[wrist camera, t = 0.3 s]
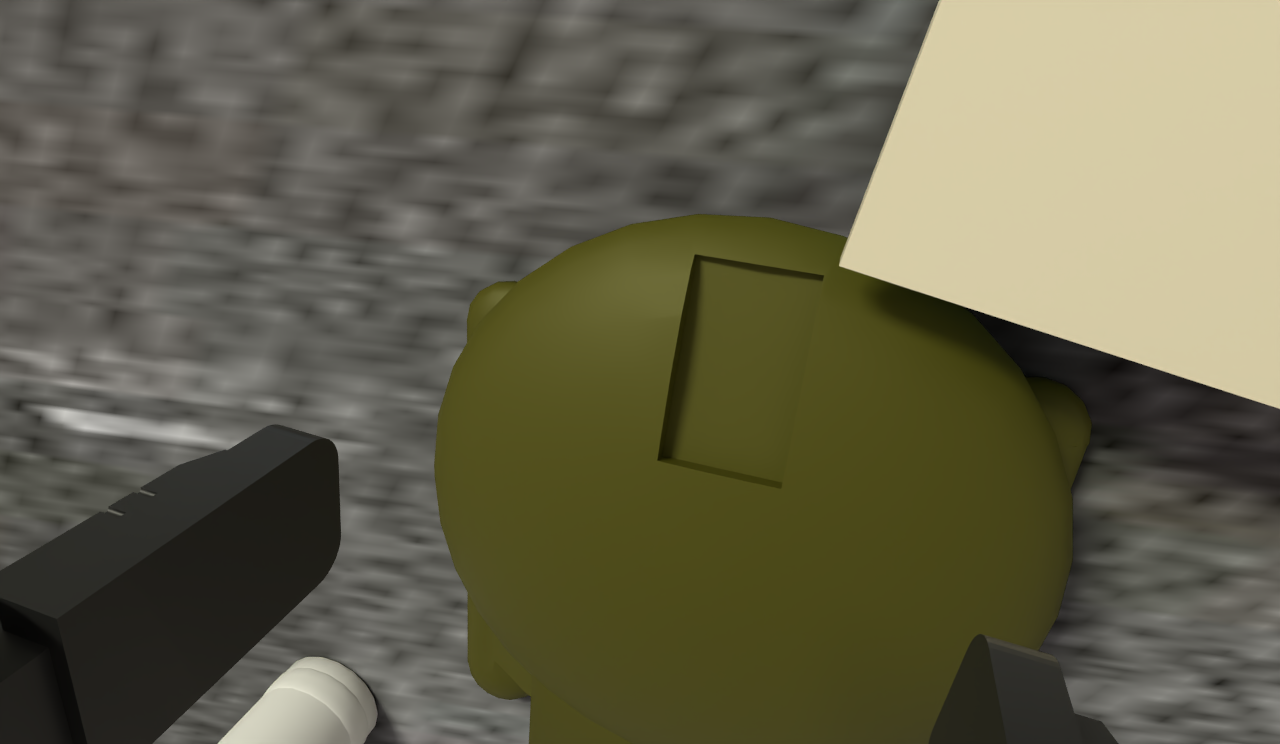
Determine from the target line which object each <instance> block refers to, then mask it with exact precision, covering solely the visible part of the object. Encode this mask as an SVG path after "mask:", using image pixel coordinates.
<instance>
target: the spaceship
mask: <svg viewBox="0 0 1280 744" xmlns="http://www.w3.org/2000/svg"><path fill="white" fill-rule="evenodd" d="M847 239H848V238H846V237H844V236H841V235H837V234H833V233H829V232H825V231H821V230H817V229H813V228H809V227H805V226H801V225H797V224H793V223H789V222H785V221H781V220H777V219H773V218H766V217H746V216H726V215H707V214H696V215H689V216H682V217H676V218H669V219H663V220H656V221H649V222H643V223H636V224H630V225H628V226H625V227H623V228H620V229H617V230H615V231H612V232H609V233H607V234H604V235H601V236H599V237H596V238H593V239H591V240H588V241H585V242H583V243H580V244H577V245H575V246H572V247H570V248H569V249H567V250H566V251H564V252H563V253H561V254H560V255H558V256H557V257H555V258H553V259H552V260H550V261H549V262H547V263H546V264H544V265H543V266H541V267H540V268H538V269H537V270H535V271H534V272H532V273H531V274H529V275H528V276H526V277H524V278H523V279H521V280H520V281H518V282H516V281H506V282H497V283H495V284H493V285H491V286H489V287H487V288H485V289H483V290H481V291H480V292H479V293H478V294H477V296H476V297H475V299H474V300H473V301H472V303H471V304H470V308H469V313H468V318H467V344H466V346H465V348H464V349H463V351H462V353H461V355H460V356H459V358H458V360H457V361H456V363H455V365H454V366H453V369H452V373H451V376H450V379H449V382H448V385H447V389H446V392H445V395H444V398H443V402H442V405H441V408H440V411H439V414H438V425H437V438H436V450H435V462H434V468H435V482H436V490H437V498H438V506H439V514H440V522H441V526H442V529H443V532H444V535H445V538H446V541H447V544H448V547H449V550H450V554H451V557H452V560H453V563H454V566H455V569H456V571H457V573H458V575H459V577H460V578H461V580H462V582H463V584H464V586H465V588H466V590H467V592H468V663H469V667H470V671H471V674H472V676H473V678H474V679H475V681H476V682H477V684H478V685H479V686H480V687H481V688H483V689H484V690H485V691H486V692H487V693H489V694H491V695H493V696H495V697H498V698H502V699H508V700H512V699H518V698H522V697H527V696H528V695H529V696H531V710H530V732H529V744H928V743H929V739H930V736H931V732H932V730H933V727H934V725H935V723H936V720H937V718H938V716H939V713H940V711H941V709H942V706H943V704H944V702H945V699H946V697H947V695H948V693H949V690H950V688H951V686H952V683H953V681H954V679H955V676H956V674H957V672H958V670H959V667H960V665H961V663H962V660H963V658H964V656H965V653H966V651H967V649H968V647H969V645H970V643H971V641H972V640H973V638H974V637H975V636H977V635H978V634H983V635H986V636H990V637H993V638H996V639H1000V640H1003V641H1006V642H1010V643H1013V644H1017V645H1020V646H1023V647H1027V648H1030V649H1034V650H1037V651H1038V650H1039V649H1040V647H1041V645H1042V643H1043V642H1044V640H1045V638H1046V636H1047V634H1048V633H1049V631H1050V629H1051V627H1052V626H1053V624H1054V622H1055V620H1056V618H1057V617H1058V614H1059V610H1060V606H1061V602H1062V599H1063V595H1064V591H1065V587H1066V583H1067V580H1068V576H1069V572H1070V568H1071V564H1072V561H1073V498H1072V494H1071V487H1072V484H1073V482H1074V479H1075V477H1076V474H1077V471H1078V469H1079V466H1080V463H1081V461H1082V458H1083V456H1084V453H1085V450H1086V448H1087V446H1088V445H1089V442H1090V434H1091V426H1092V423H1091V420H1090V417H1089V415H1088V412H1087V409H1086V407H1085V404H1084V403H1083V401H1082V400H1081V399H1080V398H1079V397H1078V396H1077V395H1076V394H1075V393H1074V392H1073V391H1072V390H1071V389H1069V388H1068V387H1067V386H1066V385H1064V384H1061V383H1058V382H1056V381H1053V380H1050V379H1048V378H1045V377H1025V376H1024V374H1023V372H1022V371H1021V369H1020V368H1019V366H1018V365H1017V364H1016V363H1015V362H1014V361H1013V360H1012V358H1011V357H1010V356H1009V355H1008V354H1007V353H1006V352H1005V350H1004V349H1003V348H1002V347H1001V346H1000V345H999V344H998V342H997V341H996V340H995V339H994V338H993V337H992V336H991V334H990V333H989V332H988V331H987V330H986V329H985V328H984V326H983V325H982V324H981V323H980V322H979V321H978V320H977V318H976V317H975V316H974V315H973V314H972V313H971V312H969V311H968V310H967V309H965V308H964V307H963V306H961V305H958V304H955V303H952V302H948V301H945V300H942V299H939V298H936V297H933V296H930V295H927V294H924V293H921V292H918V291H915V290H911V289H908V288H905V287H902V286H899V285H896V284H893V283H890V282H887V281H884V280H881V279H877V278H874V277H871V276H868V275H865V274H862V273H859V272H856V271H853V270H850V269H847V268H844V267H840V266H839V263H840V257H841V255H842V252H843V250H844V247H845V244H846V242H847Z"/></svg>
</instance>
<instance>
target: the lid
mask: <svg viewBox="0 0 1280 744" xmlns="http://www.w3.org/2000/svg"><path fill="white" fill-rule="evenodd" d="M839 266H840V267H844V268H847V269H850V270H853V271H856V272H859V273H862V274H865V275H868V276H871V277H874V278H877V279H881V280H884V281H887V282H890V283H893V284H896V285H899V286H902V287H905V288H908V289H911V290H915V291H918V292H921V293H924V294H927V295H930V296H933V297H936V298H939V299H942V300H945V301H948V302H952V303H955V304H958V305H961V306H964V307H967V308H970V309H973V310H976V311H979V312H982V313H985V314H989V315H992V316H995V317H998V318H1001V319H1004V320H1007V321H1010V322H1013V323H1016V324H1019V325H1023V326H1026V327H1029V328H1032V329H1035V330H1038V331H1041V332H1044V333H1047V334H1050V335H1053V336H1056V337H1060V338H1063V339H1066V340H1069V341H1072V342H1075V343H1078V344H1081V345H1084V346H1087V347H1090V348H1093V349H1097V350H1100V351H1103V352H1106V353H1109V354H1112V355H1115V356H1118V357H1121V358H1124V359H1127V360H1131V361H1134V362H1137V363H1140V364H1143V365H1146V366H1149V367H1152V368H1155V369H1158V370H1161V371H1164V372H1168V373H1171V374H1174V375H1177V376H1180V377H1183V378H1186V379H1189V380H1192V381H1195V382H1198V383H1202V384H1205V385H1208V386H1211V387H1214V388H1217V389H1220V390H1223V391H1226V392H1229V393H1232V394H1235V395H1239V396H1242V397H1245V398H1248V399H1251V400H1254V401H1257V402H1260V403H1263V404H1266V405H1269V406H1272V407H1276V408H1279V409H1280V0H939V2H938V5H937V7H936V10H935V12H934V15H933V18H932V20H931V23H930V26H929V28H928V31H927V33H926V36H925V39H924V41H923V44H922V46H921V49H920V52H919V54H918V57H917V59H916V62H915V65H914V67H913V70H912V72H911V75H910V78H909V80H908V83H907V85H906V88H905V91H904V93H903V96H902V98H901V101H900V104H899V106H898V109H897V112H896V114H895V117H894V119H893V122H892V125H891V127H890V130H889V132H888V135H887V138H886V140H885V143H884V145H883V148H882V151H881V153H880V156H879V158H878V161H877V164H876V166H875V169H874V171H873V174H872V177H871V179H870V182H869V184H868V187H867V190H866V192H865V195H864V197H863V200H862V203H861V205H860V208H859V211H858V213H857V216H856V218H855V221H854V224H853V226H852V229H851V231H850V234H849V237H848V239H847V242H846V244H845V247H844V250H843V252H842V255H841V257H840V263H839Z"/></svg>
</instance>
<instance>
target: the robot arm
mask: <svg viewBox="0 0 1280 744" xmlns="http://www.w3.org/2000/svg"><path fill="white" fill-rule="evenodd" d="M340 540H341V523H340V494H339V465H338V452H337V449H336V447H335V445H334V443H333V442H332V441H330V440H329V439H326V438H322V437H319V436H316V435H312V434H309V433H305V432H302V431H299V430H295V429H292V428H288V427H285V426H282V425H270V426H267V427H265V428H263V429H262V430H260V431H258V432H257V433H255V434H253V435H252V436H250V437H249V438H247V439H245V440H244V441H242V442H240V443H239V444H237V445H236V446H234V447H232V448H231V449H229V450H223V451H220V452H217V453H214V454H211V455H208V456H205V457H202V458H199V459H196V460H193V461H190V462H186V463H183V464H180V465H178V466H176V467H175V468H173V469H171V470H170V471H168V472H166V473H165V474H163V475H161V476H160V477H158V478H156V479H155V480H153V481H151V482H149V483H148V484H146V485H144V486H143V487H141V490H140V492H139V493H138V494H137V493H134V492H133V493H131V494H129V495H128V496H126V497H124V498H122V499H121V500H119V501H117V502H116V503H114V504H112V505H111V506H109V508H108V511H107V512H106V513H103V512H99V513H97V514H95V515H94V516H92V517H90V518H89V519H87V520H85V521H84V522H82V523H80V524H79V525H77V526H75V527H73V528H72V529H70V530H68V531H67V532H65V533H63V534H62V535H60V536H58V537H57V538H55V539H53V540H52V541H50V542H48V543H46V544H45V545H43V546H41V547H40V548H38V549H36V550H35V551H33V552H31V553H30V554H28V555H26V556H25V557H23V558H21V559H19V560H18V561H16V562H14V563H13V564H11V565H9V566H8V567H6V568H4V569H3V570H1V571H0V744H152V743H153V742H154V741H155V740H156V739H157V738H159V737H160V736H161V735H162V734H163V733H164V732H165V731H166V730H167V729H168V728H169V727H170V726H171V725H172V724H173V723H174V722H175V721H176V720H177V719H178V718H179V717H180V716H182V715H183V714H184V713H185V712H186V711H187V710H188V709H189V708H190V707H191V706H192V705H193V704H194V703H195V702H196V701H197V700H198V699H199V698H200V697H201V696H202V695H204V694H205V693H206V692H207V691H208V690H209V689H210V688H211V687H212V686H213V685H214V684H215V683H216V682H217V681H218V680H219V679H220V678H221V677H222V676H223V675H224V674H225V673H227V672H228V671H229V670H230V669H231V668H232V667H233V666H234V665H235V664H236V663H237V662H238V661H239V660H240V659H241V658H242V657H243V656H244V655H245V654H246V653H247V652H249V651H250V650H251V649H252V648H253V647H254V646H255V645H256V644H257V643H258V642H259V641H260V640H261V639H262V638H263V637H264V636H265V635H266V634H267V633H268V632H269V631H271V630H272V629H273V628H274V627H275V626H276V625H277V624H278V623H279V622H280V621H281V620H282V619H283V618H284V617H285V616H286V615H287V614H288V613H289V612H290V611H291V610H292V609H294V608H295V607H296V606H297V605H298V604H299V603H300V602H301V601H302V600H303V599H304V598H305V597H306V596H307V595H308V594H309V593H310V592H311V591H312V590H313V589H314V588H316V587H317V586H318V585H319V584H320V583H321V581H322V580H323V579H324V578H325V576H326V575H327V574H328V572H329V571H330V569H331V567H332V565H333V563H334V561H335V559H336V556H337V553H338V550H339V546H340ZM928 744H1118V743H1117V741H1116V740H1115V739H1114V737H1113V736H1112V735H1111V733H1110V732H1109V731H1108V729H1107V728H1106V727H1105V725H1104V724H1103V723H1102V722H1101V721H1097V720H1094V719H1091V718H1088V717H1084V716H1081V715H1078V714H1075V713H1074V711H1073V707H1072V704H1071V701H1070V697H1069V694H1068V691H1067V687H1066V684H1065V681H1064V677H1063V674H1062V671H1061V668H1060V665H1059V663H1058V661H1057V659H1056V658H1055V657H1054V656H1053V655H1050V654H1047V653H1044V652H1040V651H1037V650H1034V649H1030V648H1027V647H1023V646H1020V645H1017V644H1013V643H1010V642H1006V641H1003V640H1000V639H996V638H993V637H990V636H986V635H983V634H978V635H977V636H975V637H974V638H973V640H972V641H971V643H970V645H969V647H968V649H967V651H966V653H965V656H964V658H963V660H962V663H961V665H960V667H959V670H958V672H957V674H956V676H955V679H954V681H953V683H952V686H951V688H950V690H949V693H948V695H947V697H946V699H945V702H944V704H943V706H942V709H941V711H940V713H939V716H938V718H937V720H936V723H935V725H934V727H933V730H932V732H931V736H930V739H929V743H928Z"/></svg>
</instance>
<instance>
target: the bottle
mask: <svg viewBox="0 0 1280 744" xmlns="http://www.w3.org/2000/svg"><path fill="white" fill-rule="evenodd" d="M377 715H378V712H377V708H376V704H375V700H374V697H373V695H372V694H371V692H370V690H369V689H368V687H367V685H366V684H365V683H364V682H363V681H362V680H361V679H360V678H359V677H358V676H357V675H356V674H355V673H354V672H353V671H352V670H350V669H348V668H347V667H345V666H344V665H342V664H340V663H339V662H336V661H333V660H330V659H327V658H324V657H306V658H303V659H301V660H298V661H296V662H295V663H294V664H293V665H292V666H291V667H290V668H289V669H288V670H287V671H286V673H283V674H282V675H281V676H280V677H279V678H278V679H277V680H276V681H275V682H274V683H273V684H272V685H271V686H270V687H269V689H268V690H267V691H266V693H265V694H264V695H263V697H262V698H261V699H260V700H259V701H258V702H257V703H256V704H255V705H254V706H253V707H252V708H251V709H250V710H249V711H248V712H247V713H246V714H245V715H244V716H243V718H242V719H241V720H240V721H239V722H238V723H237V724H236V725H235V726H234V727H233V728H232V729H231V730H230V731H229V732H228V733H227V734H226V735H225V736H224V737H223V738H222V740H221V741H220V742H219V743H218V744H364V742H365V741H366V737H367V736H368V735H369V733H370V732H371V731H372V729H373V728H374V727H375V725H376V720H377Z"/></svg>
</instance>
